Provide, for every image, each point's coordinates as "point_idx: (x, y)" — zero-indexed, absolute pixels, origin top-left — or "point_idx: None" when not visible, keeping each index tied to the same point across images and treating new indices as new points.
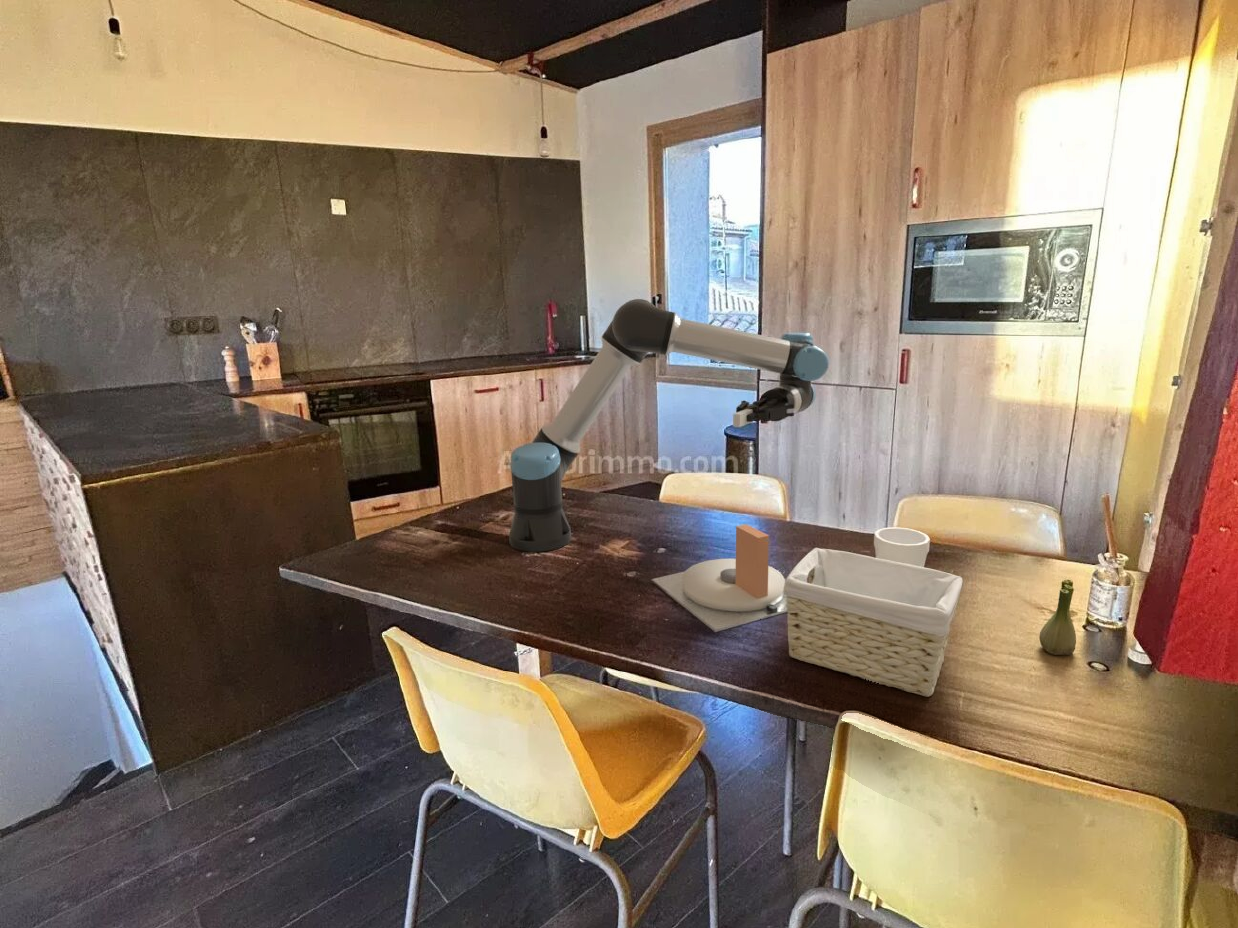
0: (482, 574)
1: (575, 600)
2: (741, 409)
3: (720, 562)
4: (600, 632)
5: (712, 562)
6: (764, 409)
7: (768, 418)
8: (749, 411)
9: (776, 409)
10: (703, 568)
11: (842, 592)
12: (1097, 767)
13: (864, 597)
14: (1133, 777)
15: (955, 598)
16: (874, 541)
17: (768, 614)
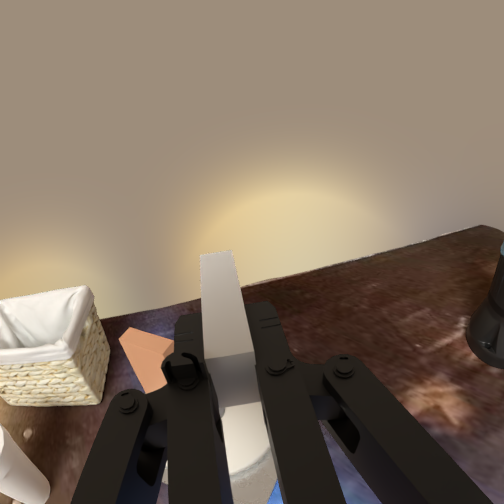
0: (433, 282)
1: (332, 309)
2: (324, 381)
3: (254, 439)
4: (265, 297)
5: (264, 432)
6: (142, 416)
7: (139, 457)
8: (203, 326)
9: (80, 491)
10: (261, 409)
11: (47, 291)
12: None
13: (34, 294)
14: None
15: None
16: (10, 447)
17: (145, 392)
